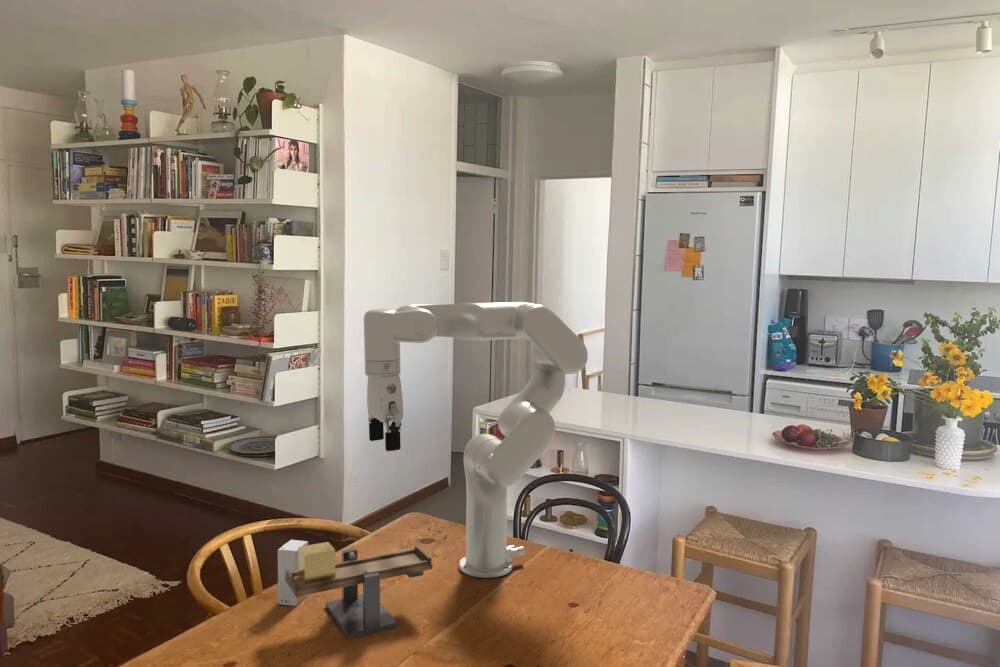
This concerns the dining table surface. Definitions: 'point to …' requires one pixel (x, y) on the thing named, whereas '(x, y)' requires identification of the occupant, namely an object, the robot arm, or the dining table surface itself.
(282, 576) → the skincare box
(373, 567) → the beam
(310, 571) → the block
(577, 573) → the dining table surface
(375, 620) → the stand
